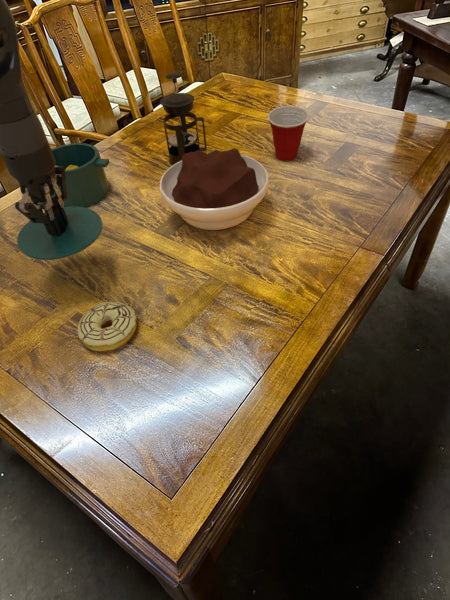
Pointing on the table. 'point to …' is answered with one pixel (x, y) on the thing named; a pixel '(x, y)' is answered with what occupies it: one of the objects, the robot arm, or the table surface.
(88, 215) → the lid
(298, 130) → the plastic cup
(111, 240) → the table surface
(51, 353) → the table surface
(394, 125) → the table surface
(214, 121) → the table surface
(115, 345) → the decorated donut
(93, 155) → the pot
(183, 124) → the french press
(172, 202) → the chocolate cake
